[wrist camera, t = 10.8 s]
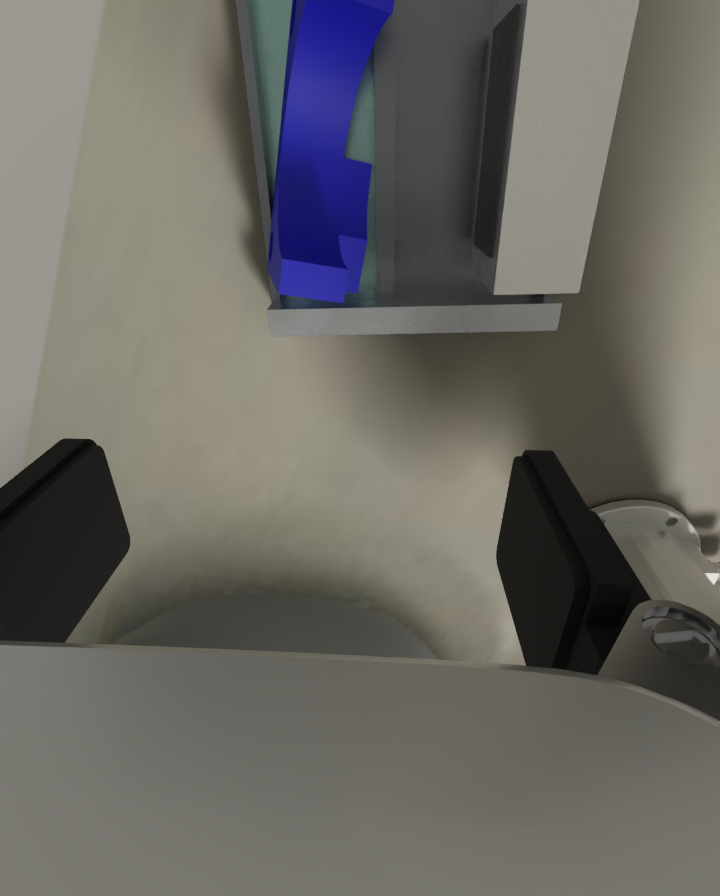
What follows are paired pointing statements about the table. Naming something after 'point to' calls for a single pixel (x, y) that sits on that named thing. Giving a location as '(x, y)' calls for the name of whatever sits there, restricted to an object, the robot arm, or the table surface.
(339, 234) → the blue curved block
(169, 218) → the table surface
